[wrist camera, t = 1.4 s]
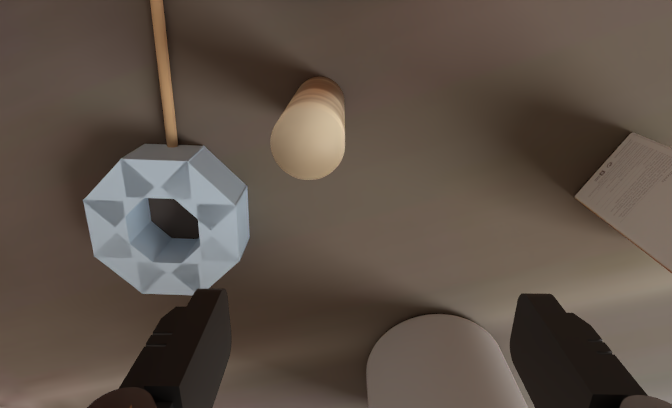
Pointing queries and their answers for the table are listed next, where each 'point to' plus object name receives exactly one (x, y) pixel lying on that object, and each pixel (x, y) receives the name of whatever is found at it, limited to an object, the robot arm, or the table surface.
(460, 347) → the cylinder vase
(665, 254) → the small box
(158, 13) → the wooden stick
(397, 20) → the table surface
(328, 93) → the dowel
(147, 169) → the bead
